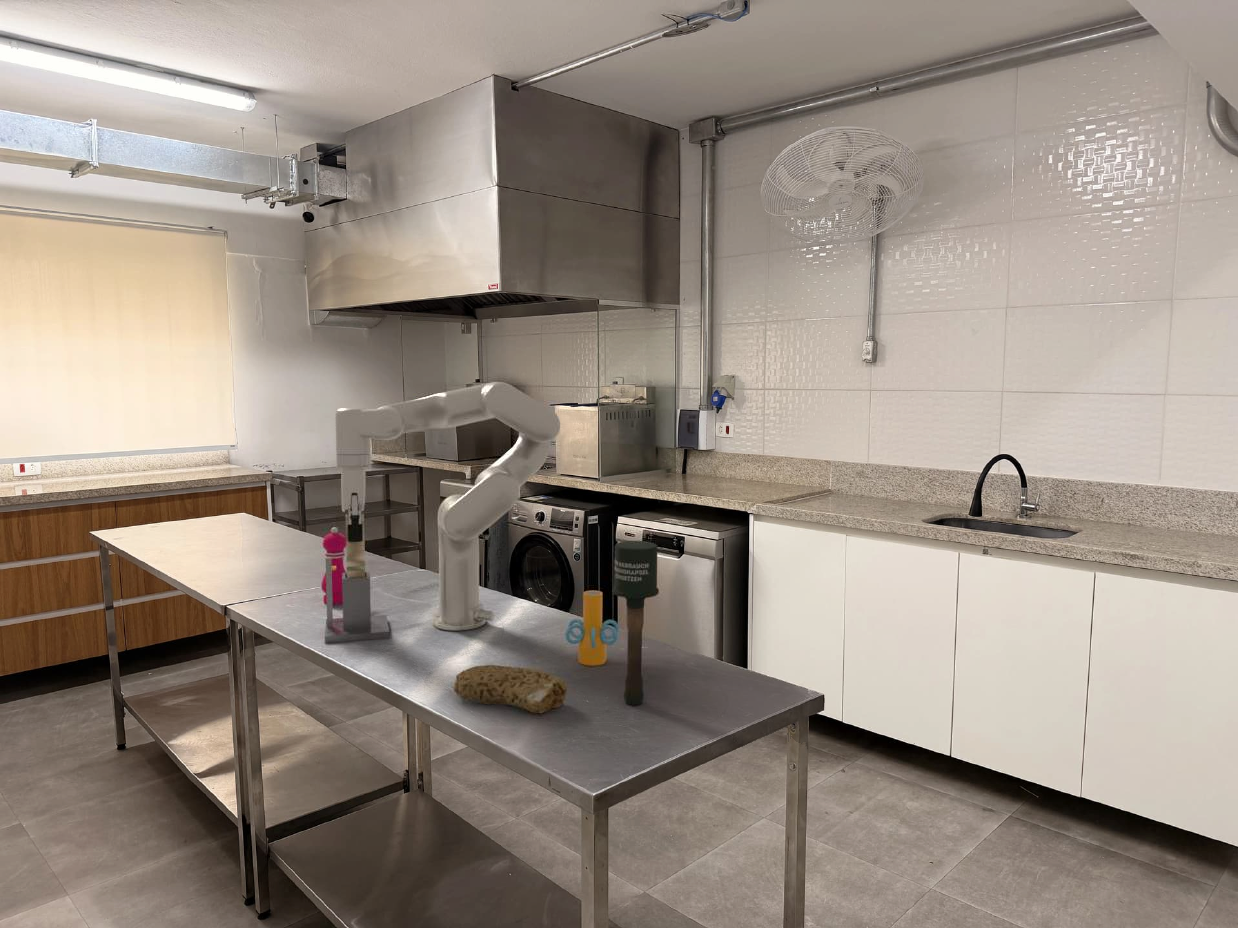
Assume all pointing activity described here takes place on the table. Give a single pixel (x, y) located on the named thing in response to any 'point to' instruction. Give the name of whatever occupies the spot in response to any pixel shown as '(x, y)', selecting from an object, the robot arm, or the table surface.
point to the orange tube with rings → (592, 631)
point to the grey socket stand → (353, 611)
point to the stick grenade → (635, 604)
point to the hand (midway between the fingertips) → (355, 538)
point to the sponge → (511, 687)
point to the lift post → (355, 554)
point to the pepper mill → (335, 564)
